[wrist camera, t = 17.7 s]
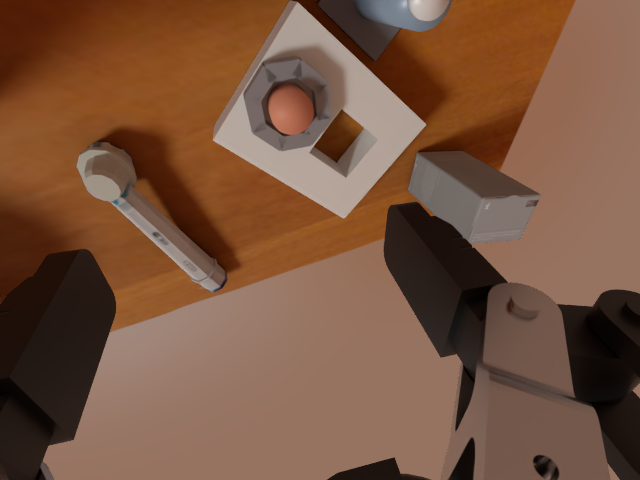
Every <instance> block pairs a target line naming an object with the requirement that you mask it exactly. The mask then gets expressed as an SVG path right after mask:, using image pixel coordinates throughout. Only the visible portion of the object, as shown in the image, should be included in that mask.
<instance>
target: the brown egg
mask: <svg viewBox="0 0 640 480" xmlns="http://www.w3.org/2000/svg"><path fill="white" fill-rule="evenodd" d="M267 107H268V111H269V114H270V117H271V120H272V123H273V124H274V126H275V127H276V128H277V129H278V130H279V131H280V132H282V133H284V134H288V135H296V134H299V133H302V132H303V131H305V130H306V129H307V128H308V127H309V126H310V124H311V122H312V120H313V116H314V109H313V105H312V102H311V100H310V99H309V97H308V96H307V95H306V93H305V92H304V91H303V89H302V88H301V87H300V86H298V85H297V84H295V83H292V82H283V83H280V84H278V85H276V86H275V87H274V88H273V89H272V90H271V91H270V93H269V96H268V99H267Z"/></svg>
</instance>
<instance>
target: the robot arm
mask: <svg viewBox="0 0 640 480" xmlns="http://www.w3.org/2000/svg"><path fill="white" fill-rule="evenodd" d="M384 257H385V262H386V265H387V267H388V269H389V271H390V272H391V274H392V276H393V277H394V279H395V281H396V282H397V284H398V286H399V287H400V289H401V291H402V292H403V294H404V296H405V297H406V299H407V301H408V303H409V305H410V306H411V308H412V310H413V311H414V313H415V315H416V316H417V318H418V320H419V321H420V323H421V325H422V327H423V328H424V330H425V332H426V333H427V335H428V337H429V338H430V340H431V342H432V343H433V345H434V347H435V349H436V350H437V352H438V354H439V355H440V357H445V356H450V355H454V354H457V355H458V357H459V358H460V360H461V361H462V364H461V366H460V371H459V378H458V384H457V392H456V399H455V406H454V414H453V421H452V428H451V435H450V441H449V445H448V449H447V453H446V456H445V460H444V465H443V470H442V475H441V480H610V475H609V470H608V465H607V463H608V464H609V465H610V467H611V468H612V469H613V471H614V472H615V473H616V475H617V476H618V477H619V479H620V480H640V398H639V397H638V396H637V395H636V394H635V393H634V392H633V391H632V390H633V389H634V388H635V387H636V386H637V385H638V384H639V383H640V294H639V293H636V292H631V291H626V290H609V291H606V292H603V293H602V294H601V295H600V296H599V298H598V299H597V301H596V302H595V304H594V305H593V307H589V306H588V307H587V306H575V305H560V304H556V303H555V302H554V301H553V300H552V299H551V298H550V297H549V296H547V295H546V294H544V293H543V292H541V291H539V290H537V289H535V288H533V287H530V286H527V285H523V284H519V283H508V282H507V281H506V280H505V279H504V278H503V277H502V276H501V275H500V274H499V273H498V272H497V271H496V269H494V268H493V266H492V265H491V264H490V263H489V262H488V261H487V260H486V259H485V258H484V257H483V256H482V255H481V254H480V253H479V252H478V251H477V250H476V249H475V248H472V245H471V244H470V243H469V242H468V241H467V240H466V239H465V238H463V236H462V235H461V233H460V232H459V231H458V230H457V229H456V228H455V227H454V226H453V225H452V224H450V223H448V222H446V221H444V220H442V219H441V218H439V217H437V216H432V217H431V216H430V215H429V214H428V213H427V211H426V210H425V209H424V208H423V207H422V206H421V205H420V204H419V203H418V202H411V203H404V204H397V205H391V206H390V207H389V209H388V214H387V223H386V232H385V242H384ZM115 313H116V301H115V296H114V293H113V291H112V289H111V287H110V286H109V284H108V282H107V280H106V278H105V277H104V275H103V273H102V271H101V269H100V267H99V266H98V264H97V262H96V260H95V258H94V257H93V255H92V254H91V252H90V251H88V250H87V249H80V250H73V251H66V252H59V253H52V254H49V255H48V256H47V257H46V258H45V259H44V261H43V262H42V264H41V265H40V267H39V268H38V270H37V271H36V273H35V274H34V276H33V277H29V278H27V279H26V280H25V281H24V282H22V283H21V284H20V285H19V286H17V287H16V288H15V289H14V290H13V291H11V292H10V293H9V294H8V295H7V296H6V298H5V299H4V300H3V302H2V303H1V305H0V480H54V478H53V476H52V474H51V472H50V470H49V467H48V466H47V465H46V464H45V463H44V462H43V458H44V455H45V453H46V450H47V448H48V446H49V445H53V444H58V443H62V442H66V441H71V440H74V437H75V434H76V431H77V428H78V425H79V422H80V419H81V416H82V412H83V410H84V407H85V404H86V401H87V398H88V395H89V392H90V388H91V386H92V383H93V380H94V377H95V374H96V371H97V368H98V365H99V362H100V359H101V356H102V353H103V350H104V347H105V344H106V341H107V338H108V335H109V332H110V329H111V326H112V323H113V320H114V317H115ZM328 480H430V479H427V478H424V477H420V476H415V475H410V474H400V471H399V468H398V466H397V463H396V460H395V458H390V459H387V460H383V461H379V462H376V463H372V464H369V465H365V466H361V467H358V468H354V469H350V470H347V471H343V472H339V473H337V474H335V475H334V476H332V477H330V478H329V479H328Z"/></svg>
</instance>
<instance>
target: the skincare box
mask: <svg viewBox="0 0 640 480" xmlns="http://www.w3.org/2000/svg"><path fill="white" fill-rule="evenodd" d="M408 190H409V192H410V193H411V194H413V195H414V196H415V197H416V198H417V199H418V200H419V201H420V202H421V203H422V204H424V205H425V206H426V207H427V208H428V209H429V210H430V211H431V212H432V213H433V214H435V215H436V216H437V217H439V218H441V219H442V220H444V221H446V222H448V223H450V224H452V225H453V226H454V227H455V228H456V229H457V230H458V231H459V232H460V233H461V235H462V236H463V238H465V239H466V240H467V241H468V242H469V243H470V244H475V243H488V242H498V241H509V240H520V239H521V236H522V235H523V232H524V230H525V228H526V226H527V224H528V221H529V220H530V217H531V215H532V213H533V211H534V209H535V207H536V205H537V203H538V201H539V199H540V196H541V195H540V194H539V193H537V192H535V191H534V190H532V189H530V188H528V187H526V186H525V185H523V184H521V183H519V182H517V181H516V180H514V179H512V178H510V177H508V176H507V175H505V174H503V173H501V172H500V171H498V170H496V169H494V168H493V167H491V166H489V165H487V164H486V163H484V162H482V161H480V160H478V159H477V158H475V157H473V156H471V155H470V154H468V153H466V152H465V151H439V152H417V155H416V159H415V163H414V168H413V172H412V176H411V180H410V184H409V187H408Z"/></svg>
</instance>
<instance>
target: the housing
mask: <svg viewBox="0 0 640 480" xmlns="http://www.w3.org/2000/svg"><path fill="white" fill-rule="evenodd" d="M283 82H292V83H295V84H297V85H298V86H300V87H301V88H302V89H303V91H304V92H305V93H306V95H307V96H308V97H309V99H310V100H311V102H312V105H313V109H314V116H313V120H312V122H311V124H310V126H309V127H308V128H307V129H306V130H305V131H303V132H302V133H299V134H296V135H288V134H284V133H282V132H280V131H279V130H278V129H277V128H276V127H275V126H274V124H273V123H272V120H271V117H270V114H269V111H268V107H267V99H268V96H269V93H270V91H271V90H272V89H273V88H274V87H275V86H276V85H278V84H280V83H283ZM341 109H342V110H343V111H345V112H346V113H347V114H348V115H349V116H351V117H352V118H353V119H354V120H356V121H357V122H358V123H359V124H360V125H362V126H363V127H364V129H363V130H362V131H361V133H360V134H359V135H358V136H357V138H356V139H355V140H354V141H353V143H352V144H351V145H350V146H349V148H348V149H347V150H346V152H345V153H344V154H343V155H342V157H341V158H340V159H339V160H338V162H337V163H336V162H335V161H334V160H332V159H331V158H329V157H328V156H326V155H325V154H324V153H322V152H321V151H319V150H318V149H317V148H315V147H314V145H315V144H316V143H317V141H318V140H319V139H320V137H321V136H322V135H323V133H324V132H325V131H326V129H327V128H328V127H329V125H330V124H331V123H332V121H333V120H334V119H335V117H336V116H337V115H338V113H339V112H340V111H341ZM425 126H426V124H425V123H424V122H423V121H422V120H421V119H420V118H419V117H418V116H417V115H416V114H415V113H414V112H413V111H412V110H411V109H410V108H409V107H408V106H407V105H406V104H404V103H403V102H402V101H401V100H400V99H399V98H398V97H397V96H396V95H395V94H394V93H393V92H392V91H391V90H390V89H389V88H388V87H387V86H386V85H384V84H383V83H382V82H381V81H380V80H379V79H378V78H377V77H376V76H375V75H374V74H373V73H372V72H371V71H370V70H369V69H368V68H367V67H366V66H364V65H363V64H362V63H361V62H360V61H359V60H358V59H357V58H356V57H355V56H354V55H353V54H352V53H351V52H350V51H349V50H348V49H347V48H346V47H345V46H343V45H342V44H341V43H340V42H339V41H338V40H337V39H336V38H335V37H334V36H333V35H332V34H331V33H330V32H329V31H328V30H327V29H326V28H325V27H323V26H322V25H321V24H320V23H319V22H318V21H317V20H316V19H315V18H314V17H313V16H312V15H311V14H310V13H309V12H308V11H307V10H306V9H305V8H303V7H302V6H301V5H300V4H299V3H298V2H296V1H291V0H290V1H289V3H288V4H287V6H286V8H285V9H284V11H283V13H282V14H281V16H280V18H279V19H278V21H277V23H276V24H275V26H274V28H273V29H272V31H271V33H270V34H269V36H268V38H267V39H266V41H265V43H264V44H263V46H262V48H261V49H260V51H259V52H258V54H257V56H256V57H255V59H254V61H253V62H252V64H251V66H250V67H249V69H248V71H247V72H246V74H245V76H244V77H243V79H242V81H241V82H240V84H239V86H238V87H237V89H236V91H235V92H234V94H233V96H232V97H231V99H230V101H229V102H228V104H227V106H226V107H225V109H224V111H223V112H222V114H221V116H220V117H219V119H218V121H217V122H216V124H215V126H214V133H213V141H215V142H216V143H218V144H220V145H221V146H223V147H225V148H226V149H228V150H230V151H231V152H233V153H235V154H236V155H238V156H240V157H241V158H243V159H245V160H246V161H248V162H250V163H252V164H253V165H255V166H257V167H258V168H260V169H262V170H263V171H265V172H267V173H268V174H270V175H272V176H273V177H275V178H277V179H278V180H280V181H282V182H283V183H285V184H287V185H288V186H290V187H292V188H293V189H295V190H297V191H298V192H300V193H302V194H303V195H305V196H307V197H308V198H310V199H312V200H313V201H315V202H317V203H318V204H320V205H322V206H323V207H325V208H327V209H329V210H330V211H332V212H334V213H335V214H337V215H339V216H340V217H342V218H345V217H346V216H347V215H348V214H349V213H350V212H351V210H352V209H353V208H354V207H355V206H356V205H357V204H358V202H359V201H360V200H361V199H362V198H363V197H364V196H365V194H366V193H367V192H368V191H369V190H370V189H371V188H372V186H373V185H374V184H375V183H376V182H377V181H378V180H379V178H380V177H381V176H382V175H383V174H384V173H385V171H386V170H387V169H388V168H389V167H390V166H391V165H392V163H393V162H394V161H395V160H396V159H397V158H398V157H399V155H400V154H401V153H402V152H403V151H404V150H405V149H406V147H407V146H408V145H409V144H410V143H411V142H412V141H413V139H414V138H415V137H416V136H417V135H418V134H419V133H420V131H421V130H422V129H423V128H424V127H425Z"/></svg>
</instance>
